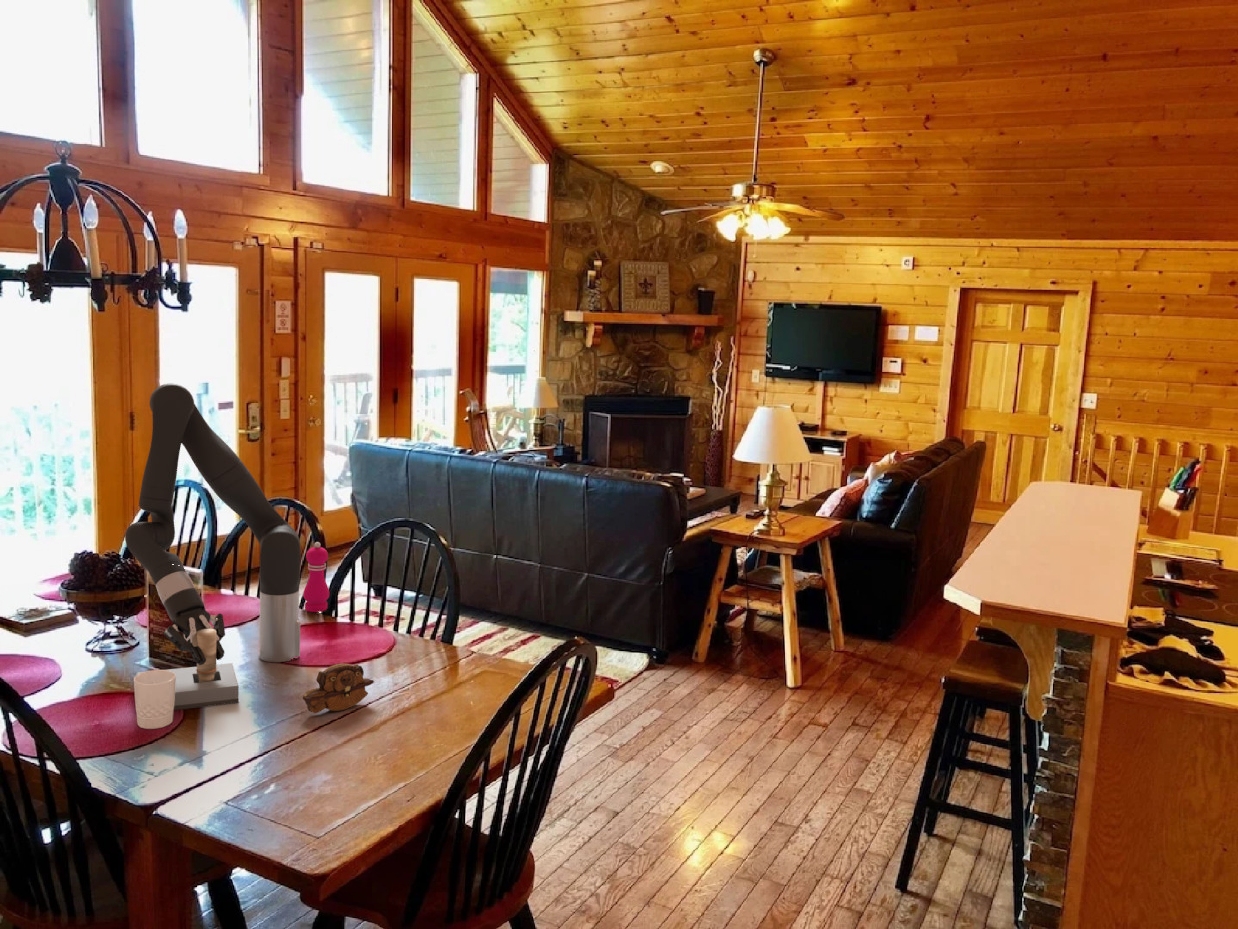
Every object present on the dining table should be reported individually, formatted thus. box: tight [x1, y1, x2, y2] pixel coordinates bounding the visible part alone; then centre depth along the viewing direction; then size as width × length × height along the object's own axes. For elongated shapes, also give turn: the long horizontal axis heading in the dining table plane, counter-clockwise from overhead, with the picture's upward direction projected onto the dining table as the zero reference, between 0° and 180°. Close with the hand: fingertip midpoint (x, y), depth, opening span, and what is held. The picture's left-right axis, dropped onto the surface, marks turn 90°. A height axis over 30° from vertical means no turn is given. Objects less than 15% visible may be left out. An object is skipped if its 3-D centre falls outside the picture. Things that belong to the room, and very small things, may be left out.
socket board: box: [136, 662, 240, 711], centre depth 214 cm, size 20×14×4 cm
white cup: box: [133, 669, 176, 730], centre depth 200 cm, size 8×8×10 cm
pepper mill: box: [302, 541, 330, 613], centre depth 277 cm, size 7×7×20 cm
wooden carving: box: [302, 663, 374, 714], centre depth 212 cm, size 16×5×10 cm, turn 140°
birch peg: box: [196, 629, 217, 683], centre depth 215 cm, size 4×4×12 cm
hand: (211, 660), depth 214 cm, fingers closed on birch peg, 4 cm apart
